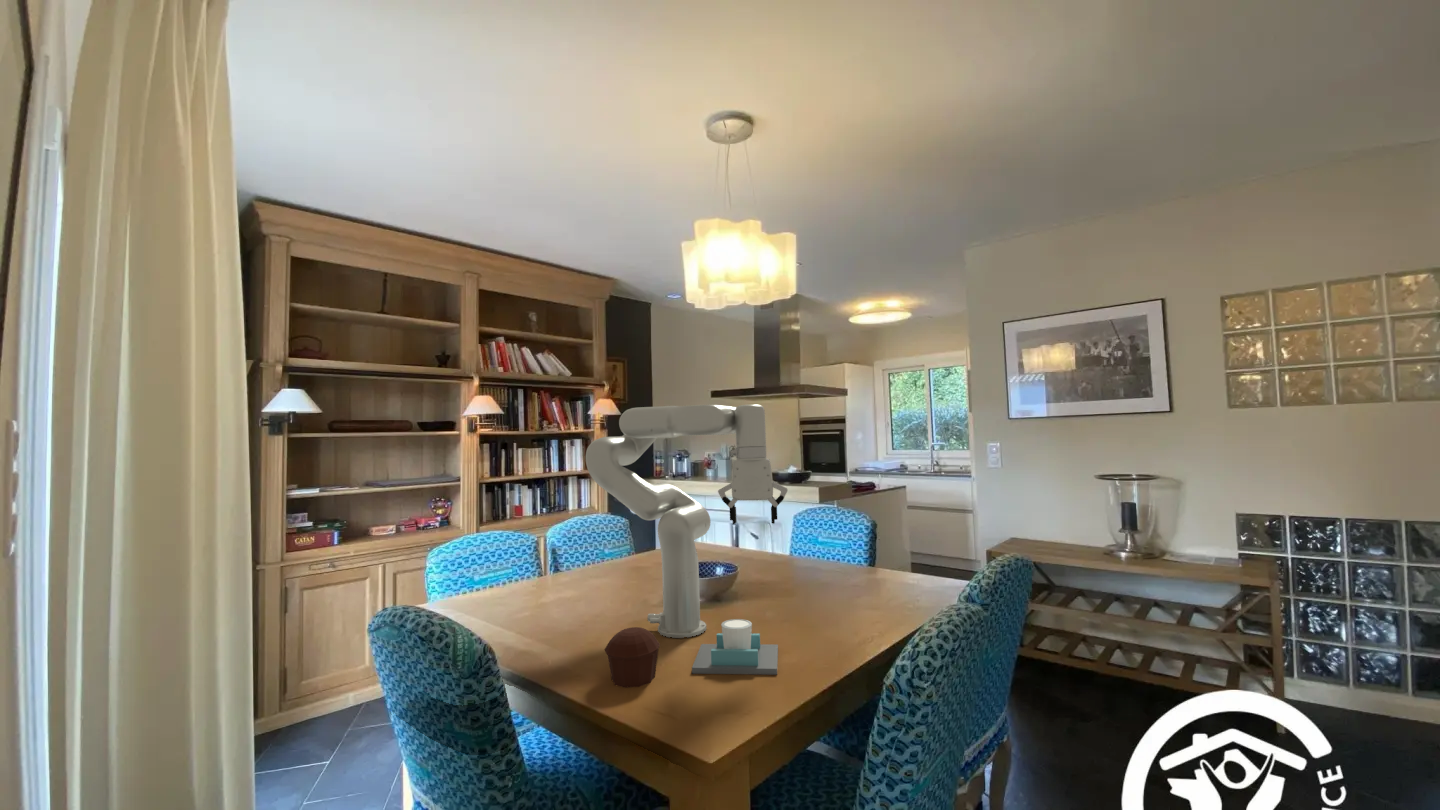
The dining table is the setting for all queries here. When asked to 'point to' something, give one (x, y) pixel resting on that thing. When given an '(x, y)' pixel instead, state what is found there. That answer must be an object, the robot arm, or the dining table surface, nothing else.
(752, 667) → the clip holder
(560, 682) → the dining table surface
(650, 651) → the muffin
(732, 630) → the white cylinder
